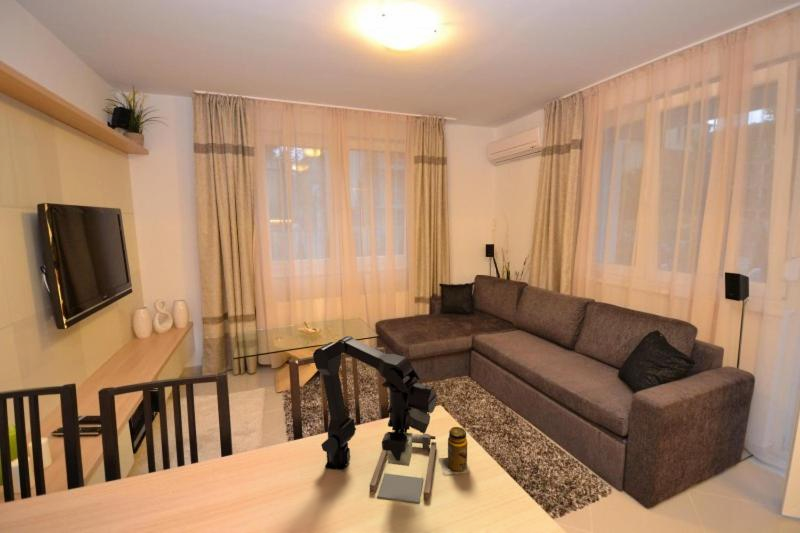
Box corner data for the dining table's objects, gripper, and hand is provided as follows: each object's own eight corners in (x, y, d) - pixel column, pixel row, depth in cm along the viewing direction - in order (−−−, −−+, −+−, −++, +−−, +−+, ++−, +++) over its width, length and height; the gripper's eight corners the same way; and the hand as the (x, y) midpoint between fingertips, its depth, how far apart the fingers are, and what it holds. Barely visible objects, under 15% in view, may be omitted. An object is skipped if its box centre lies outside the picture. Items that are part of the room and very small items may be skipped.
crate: (387, 463, 100) (387, 443, 99) (392, 449, 106) (392, 430, 105) (408, 466, 99) (408, 445, 98) (412, 451, 105) (412, 432, 104)
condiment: (471, 472, 110) (471, 437, 108) (444, 475, 109) (444, 440, 107) (463, 456, 117) (464, 423, 115) (438, 459, 116) (438, 425, 114)
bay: (369, 492, 103) (369, 478, 102) (387, 440, 126) (387, 428, 125) (429, 500, 100) (429, 485, 99) (436, 445, 123) (436, 433, 122)
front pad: (377, 497, 101) (377, 496, 101) (384, 474, 110) (384, 473, 110) (419, 503, 99) (419, 502, 99) (423, 479, 108) (423, 478, 108)
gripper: (423, 425, 89) (424, 480, 92) (431, 388, 107) (431, 435, 110) (380, 420, 92) (382, 475, 94) (395, 385, 110) (396, 431, 112)
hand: (400, 452), depth 103 cm, fingers closed on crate, 6 cm apart
